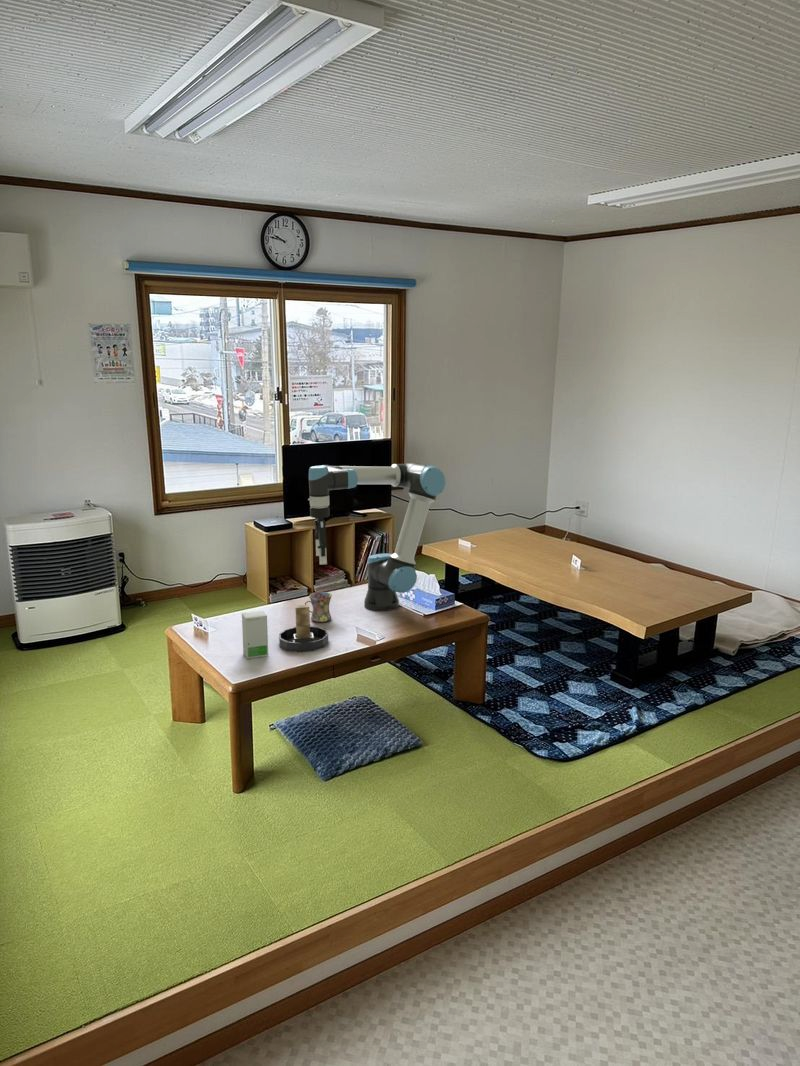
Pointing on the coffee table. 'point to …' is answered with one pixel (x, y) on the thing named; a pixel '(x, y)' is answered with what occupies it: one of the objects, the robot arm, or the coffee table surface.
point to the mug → (320, 606)
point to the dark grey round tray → (318, 643)
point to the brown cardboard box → (302, 621)
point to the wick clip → (303, 639)
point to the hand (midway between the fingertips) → (321, 559)
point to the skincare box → (255, 634)
